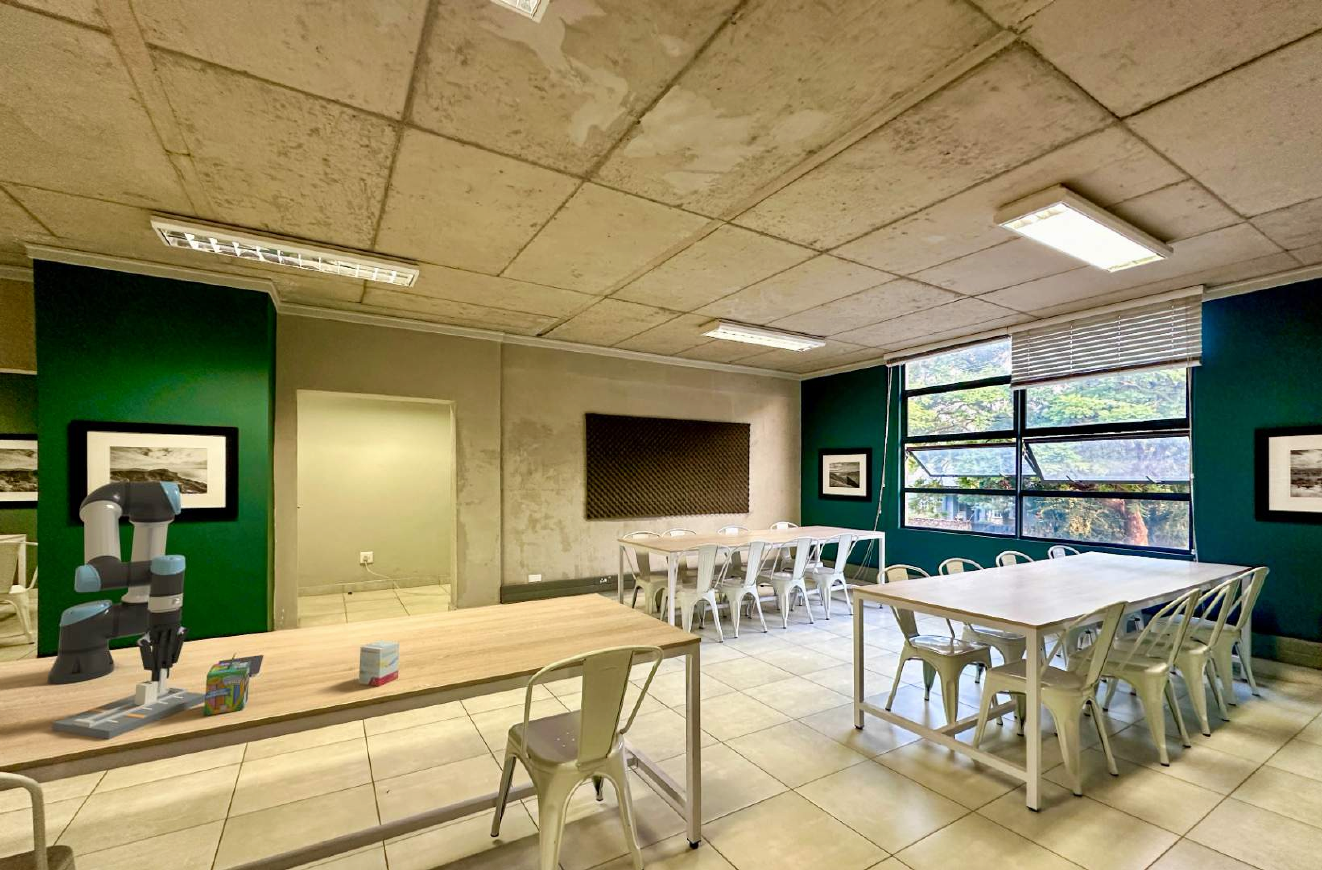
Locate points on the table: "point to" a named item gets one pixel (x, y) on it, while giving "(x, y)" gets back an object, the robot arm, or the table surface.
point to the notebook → (254, 665)
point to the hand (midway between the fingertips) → (159, 691)
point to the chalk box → (227, 687)
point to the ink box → (379, 663)
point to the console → (127, 714)
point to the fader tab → (146, 692)
